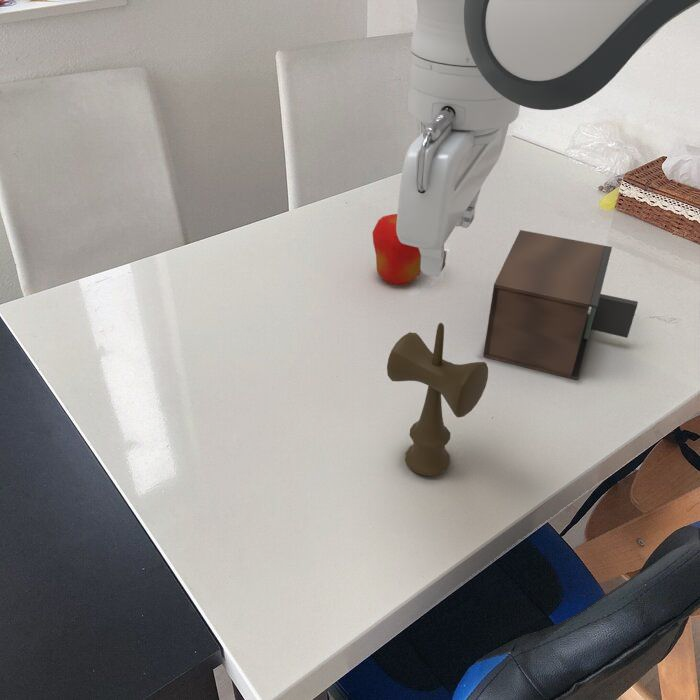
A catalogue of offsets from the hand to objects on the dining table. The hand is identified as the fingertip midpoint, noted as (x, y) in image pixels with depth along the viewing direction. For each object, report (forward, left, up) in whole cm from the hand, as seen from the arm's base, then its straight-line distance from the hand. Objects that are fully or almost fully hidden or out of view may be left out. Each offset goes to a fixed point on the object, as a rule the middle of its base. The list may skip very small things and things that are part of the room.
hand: (448, 246), depth 62 cm
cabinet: (-7, -30, -29) cm, 42 cm away
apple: (+17, -37, -29) cm, 50 cm away
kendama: (0, 0, -29) cm, 29 cm away
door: (-16, -35, -28) cm, 48 cm away
